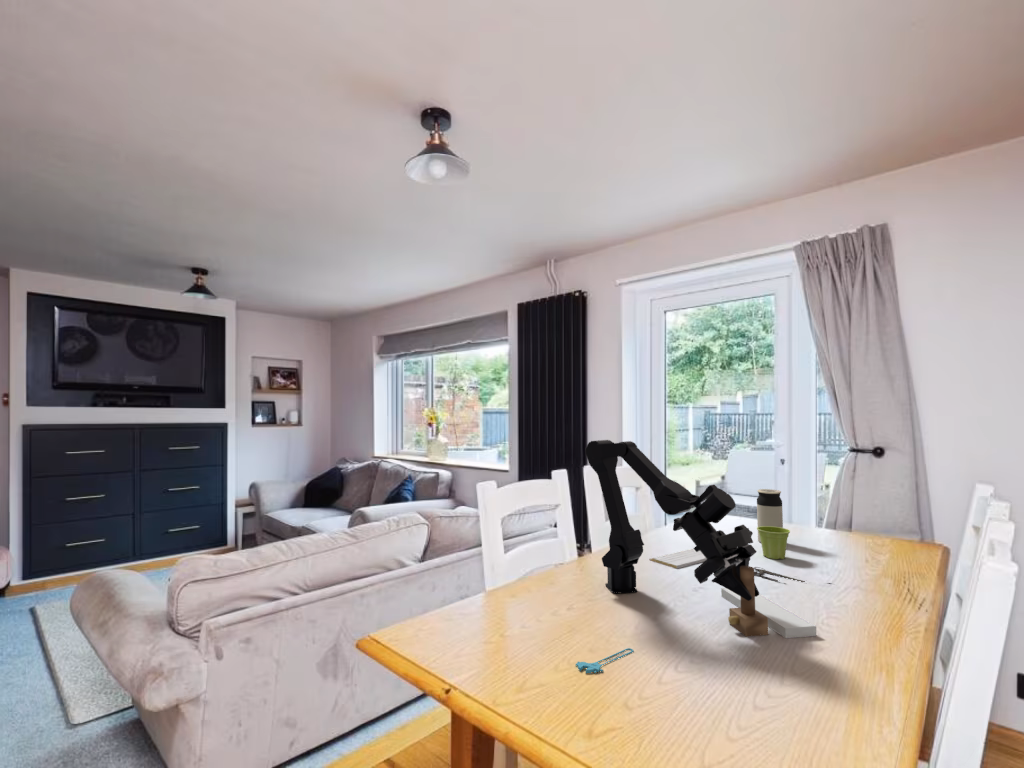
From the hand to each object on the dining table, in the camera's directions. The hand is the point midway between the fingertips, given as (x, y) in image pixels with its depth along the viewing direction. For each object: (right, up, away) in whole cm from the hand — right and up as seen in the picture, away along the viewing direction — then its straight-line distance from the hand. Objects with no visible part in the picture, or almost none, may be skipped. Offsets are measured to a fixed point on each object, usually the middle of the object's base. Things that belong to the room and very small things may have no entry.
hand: (754, 597), depth 109 cm
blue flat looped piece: (-33, -7, -12) cm, 36 cm away
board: (+7, -7, +9) cm, 13 cm away
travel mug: (+39, -10, +71) cm, 82 cm away
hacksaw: (+25, -9, +34) cm, 43 cm away
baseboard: (+7, -11, +56) cm, 58 cm away
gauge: (-1, -7, +1) cm, 7 cm away
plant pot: (+32, -10, +54) cm, 63 cm away
